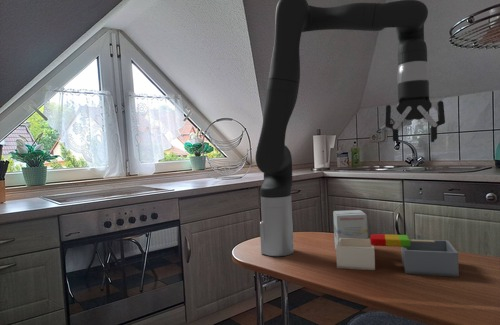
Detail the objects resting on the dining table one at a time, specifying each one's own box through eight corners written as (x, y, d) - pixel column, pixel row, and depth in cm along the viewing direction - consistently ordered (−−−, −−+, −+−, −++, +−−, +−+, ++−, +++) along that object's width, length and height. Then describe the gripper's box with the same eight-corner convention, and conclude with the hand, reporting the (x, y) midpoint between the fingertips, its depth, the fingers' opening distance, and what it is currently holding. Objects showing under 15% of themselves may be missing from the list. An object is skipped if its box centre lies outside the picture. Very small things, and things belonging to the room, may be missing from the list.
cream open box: (336, 268, 91) (336, 246, 90) (340, 257, 99) (339, 237, 99) (375, 270, 88) (374, 248, 87) (374, 259, 96) (374, 239, 96)
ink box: (362, 247, 108) (361, 208, 108) (369, 255, 100) (367, 213, 99) (334, 247, 109) (332, 209, 109) (338, 256, 101) (336, 214, 100)
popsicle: (436, 240, 85) (370, 238, 89) (436, 248, 85) (370, 246, 90) (432, 235, 90) (370, 233, 95) (432, 242, 90) (370, 240, 95)
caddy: (405, 273, 84) (404, 250, 84) (401, 259, 95) (400, 239, 95) (458, 276, 81) (458, 252, 80) (448, 261, 91) (448, 240, 91)
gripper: (384, 82, 93) (386, 144, 93) (445, 75, 88) (447, 141, 88) (384, 86, 100) (385, 144, 100) (441, 80, 95) (442, 141, 95)
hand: (414, 142), depth 94 cm, fingers open, 8 cm apart
